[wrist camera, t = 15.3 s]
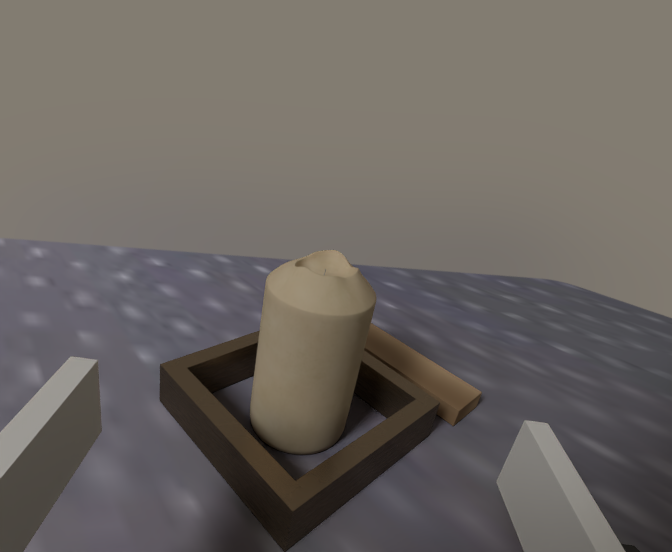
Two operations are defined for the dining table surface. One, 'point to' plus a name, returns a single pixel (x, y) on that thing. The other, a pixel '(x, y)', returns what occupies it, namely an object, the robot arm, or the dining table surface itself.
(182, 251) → the dining table surface
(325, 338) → the candle
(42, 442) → the robot arm
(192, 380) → the wooden tray
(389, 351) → the strip
